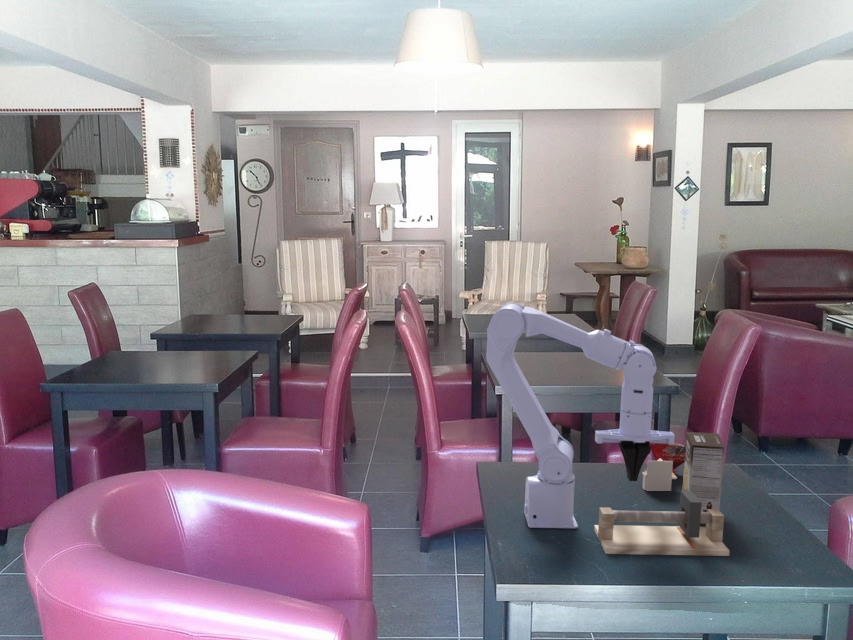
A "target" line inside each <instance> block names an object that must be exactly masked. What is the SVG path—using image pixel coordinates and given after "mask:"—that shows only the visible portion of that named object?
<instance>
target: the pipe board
mask: <svg viewBox="0 0 853 640" xmlns="http://www.w3.org/2000/svg"><path fill="white" fill-rule="evenodd" d="M598 511H599V512H598V524H594V525H593V531H594V533H595V535H596V537H597V539H598V541H599V543H600V545H601V547H602V549H603V551H604V553H605V554H607V555H650V556H651V555H652V556H653V555H657V556H705V557H706V556H707V557H708V556H712V557H713V556H715V557H718V556H719V557H721V556H722V557H723V556H724V557H730V549H729V548H728V547H727V546H726V545H725V543H724V542H723V537H724V536H723V534H724V523H725V515H724V514H723V513H722V512H721V510H720V511H719V510H718V509H707V512H701V519H700V524H702V523H706V524H705V526H700V532H699V538H689V537H687V535H686V534H685V533H684V532H683V530H682V529H681V528H680V526H679V525H676V526H675V525H673V526H671V525H626V524H625V525H619V524H618V525H617V524H616V525H615V524H614V522H619V523H621V522H622V523H666V524H667V523H669V524H670V523H673V524H677V523H678V524H679V523H686V524H687V512H686V511H685V512H679V511H672V510H670V511H666V510H663V511H662V510H618V509H617V510H614V509H612V507H605V506H604V507H599V509H598Z"/></svg>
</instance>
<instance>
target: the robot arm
mask: <svg viewBox="0 0 853 640" xmlns="http://www.w3.org/2000/svg"><path fill="white" fill-rule="evenodd" d="M523 332H525V337H527V338H529V337H533V336H538V335H545V336H548V337H551V338H554V339H556V340H558V341H560V342H561V341H562V342H564V343H567V344H569V345H572V346H575V347H576V348H577V347H578V348H580V349H582V351H583V355H584V356H585V358H587V359H589V360H592V361H594V362H596V363H599V364H600V365H603V366H606V367H608V368H611V369H613V370H616V371H623V383H622V385H621V393H620V397H621V398H620V413H619V428H616V429H615V428H614V429H606V430H595V434H594V441H595V443H596V444H603V443H611V444H612V443H613V444H614V443H615V444H616V443H617V445H618V447H619V449H620V451H621V455H622V457H623V460H624V466H625V469H626V478H627V479H628V481H630V482H637V481H638V480H639V479H638V477H639V476H640V475H639V474H640V472H641V469H642V467H643V465H644V463H645V461H646V459H647V457H648V456H649V455H650V453H651V452H652V450H651V446H650V445H649V444H650V443H668V444H669V445H674V443H675V436H676V435H675V434H674V432H672V431H662V430H654V429H653V430H652V417H653V401H654V387H653V385H654V376H655V374H656V372H657V370H658V369H657V368H658V367H657V366H656V365H657V363H656V360H655V357H654V355H653V353H652V351H651V350H650V349H649V348H648V347H646V346H645V345H643V344H641V343H636V342H635V341H634V340H631V339H630V340H629V341H627V340H624V339H622V338H619V337H617V336H614V335H613V334H611V333H612V331H611V330H609V329H607V328H604V330H601V329H595V330H593V331H590V332H587V331H585V330H583V329H581V328H578V327H577V326H574V325H573V324H570V323H567V322H565V321H563V320H561V319H559V318H556V317H555V316H553V315H550V314H548V313H546V312H543V311H542V310H540V309H539V310H538V309H535V308H533V307H530V306H523V305H522V304H520V303H518V302H506V303H505V304H503V305H502V306H501V307H500V308H499V309H498V310H497V311H496V312H495V313H494V314H493V315H492V318H491V320H490V322H489V325H488V326H487V328H486V335H487V337H486V338H487V339H486V354H485V359H486V362H487V364H488V366H489V368H490V369H491V372H492V373H493V375H494V377H495V379H496V380H497V381H498V384H499V386H500V387H501V389H502V391H503V392H504V394H505V396H506V398H507V400H508V402H509V403H510V406H511V407H512V408H513V411H514V412H515V413H516V416H517V417H518V419H519V421H520V422H521V425H522V426H523V428H524V429H525V431H526V433H527V435H528V437H529V439H530V441H531V444H532V448H533V451H534V454H535V456H536V459H537V461H538V471H537V474H536V475H533V476H526V478H525V489H524V491H525V492H524V506H523V507H524V508H523V513H524V516H525V520H526V523H527V526H528V528H529V529H530V528H531V529H532V528H533V529H534V528H535V529H536V528H537V529H578V528H579V526H578V523H577V521H576V518H575V516H574V502H575V499H574V498H575V483H576V482H575V478H576V476H575V474H574V472H573V459H574V456H575V451H574V448H573V445H572V443H570V441H568V440H567V439H565V438H564V437H563V436H562V435H561V433H559V430H558V429H557V428H556V427H555V426H554V425H553V424H552V422H551V421H550V419H549V417H548V415H547V414H546V412H545V410H544V408H543V407H542V405H541V404H540V401H539V400H538V398H537V396H536V394H535V393H534V391H533V389H532V388H531V385H530V384H529V382H528V380H527V379H526V377H525V375H524V373H523V371H522V370H521V368H520V366H519V365H518V362H517V361H516V359H515V357H514V352H515V350H516V347H517V343H518V340H519V339H520V337H521V336H522V335H523Z"/></svg>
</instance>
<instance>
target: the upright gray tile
mask: <svg viewBox="0 0 853 640" xmlns="http://www.w3.org/2000/svg"><path fill="white" fill-rule="evenodd" d="M701 505H702V502H701V501H700V500H699V499H698V498H697V497H696V496H695V494H694V493H693V492H692V491H682V490H681V491H680V498H679V510H678V512H685V511H686V512H687V524H686V523H678V525H677V526H680V528H681V529H682V530H683V532H684V533H685V534H686V535H687V537H689V538H699V532H700V527H701V523H700V519H701Z"/></svg>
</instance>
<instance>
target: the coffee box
mask: <svg viewBox="0 0 853 640" xmlns="http://www.w3.org/2000/svg"><path fill="white" fill-rule="evenodd" d="M684 446H685V459H684V463H683V464H684V465H683V475H682V476H683V478H682V489H681V491H692V492H693V493H694V494H695V496H696V497H697V498H698V499H699V500H700V501H701V502H702V505H701V512H707V509H718V510H719V511H720V512H721V498H722V497H721V496H722V486H723V485H722V484H723V475H724V463H725V462H724V461H725V451H726V446H725V445H724V443H723V441H722V439H721V437H720V435H719V433H715V432H714V433H713V432H712V433H711V432H709V433H708V432H695V431H694V432H693V431H686V433H685V445H684ZM702 524H703V525H704V524H705V525H706V523H701V525H702Z"/></svg>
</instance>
